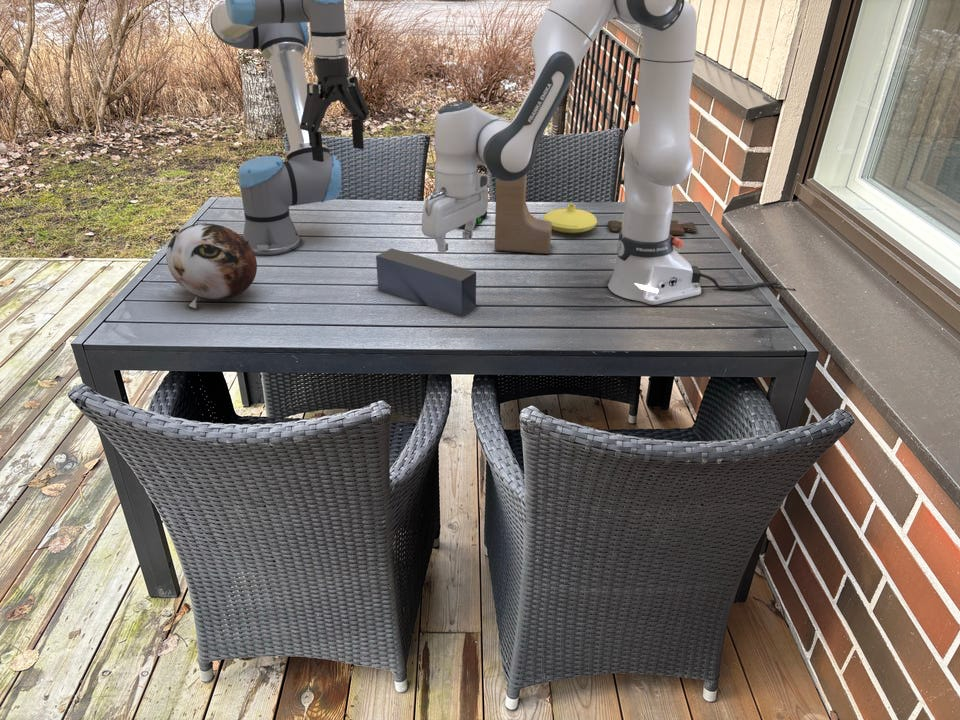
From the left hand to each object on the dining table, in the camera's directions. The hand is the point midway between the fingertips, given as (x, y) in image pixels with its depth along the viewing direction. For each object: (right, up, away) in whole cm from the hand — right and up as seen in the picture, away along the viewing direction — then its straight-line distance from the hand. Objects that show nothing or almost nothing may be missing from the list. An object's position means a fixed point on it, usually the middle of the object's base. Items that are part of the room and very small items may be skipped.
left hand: (339, 154), depth 167 cm
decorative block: (+45, -17, +31) cm, 57 cm away
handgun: (+27, -6, +49) cm, 56 cm away
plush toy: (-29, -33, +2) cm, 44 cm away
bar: (+20, -33, +3) cm, 39 cm away
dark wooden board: (+84, -9, +45) cm, 96 cm away
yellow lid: (+59, -9, +44) cm, 75 cm away
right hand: (+27, -23, -9) cm, 37 cm away
